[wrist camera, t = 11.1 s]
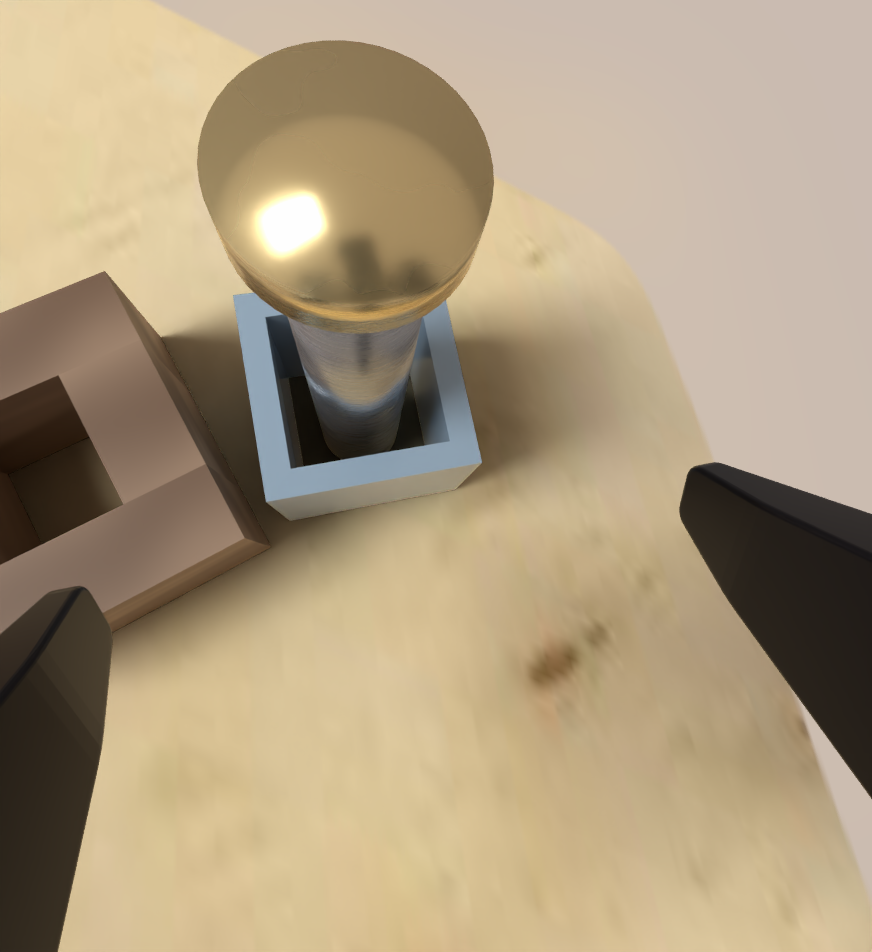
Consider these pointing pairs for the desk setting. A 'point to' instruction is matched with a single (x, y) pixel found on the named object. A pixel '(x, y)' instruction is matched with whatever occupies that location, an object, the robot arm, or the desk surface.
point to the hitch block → (112, 459)
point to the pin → (347, 214)
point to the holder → (367, 476)
